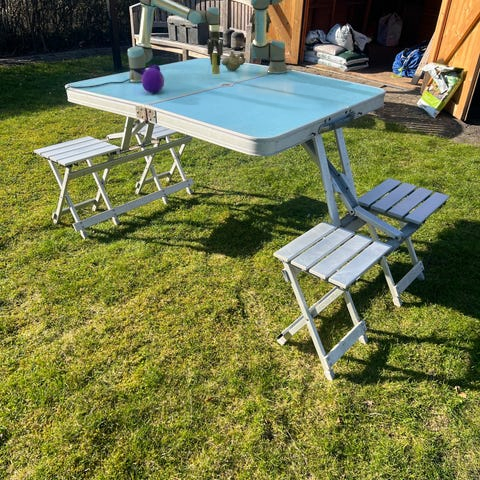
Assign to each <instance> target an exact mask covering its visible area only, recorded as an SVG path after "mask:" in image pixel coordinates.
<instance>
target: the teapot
mask: <svg viewBox="0 0 480 480" xmlns="http://www.w3.org/2000/svg"><path fill="white" fill-rule="evenodd" d="M240 58H241V60H240ZM245 62H246V59H245V54H244V53H243V52H239V54H237V55H236V54H235V53H234V51H233V50H232V51H230V53H229V55H228V57H224V58H222V59H221V65H222V66H225V68H226V70H227V71H229V72H235V71H237V70H239V68H240V67H241V66H243V65H244V64H245Z"/></svg>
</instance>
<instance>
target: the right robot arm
mask: <svg viewBox="0 0 480 480" xmlns="http://www.w3.org/2000/svg"><path fill="white" fill-rule="evenodd" d="M283 1H284V0H250V6H251V7H252V9H253V10H252V14H251V16H250V19H249V23H251V28H252V33H254V39H253V40H252V42H251V43H250V48H251V49H250V50H251V57H252V58H253V59H254V60H266V59H267V60H270V61H269V65H268V68H267V73H268V74H271V75H283V74H287V73H288V71H292V69H291V68H287V65H286V49H287V48H286V43H285V42H284V41H283V40H282V41H281V40H276V39H275V40H274V39H273V40H270V41H269V40H268V39H267V33H269V29H270V24H272V19H271V17H270V14H269V10H268V9H269V7H270V6H274V5H279V4H280V3H282V2H283Z"/></svg>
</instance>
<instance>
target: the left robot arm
mask: <svg viewBox="0 0 480 480" xmlns="http://www.w3.org/2000/svg"><path fill="white" fill-rule="evenodd" d="M139 1H140V2H139V4H140V6H141V13H140V14H141V15H140V21H139V23H140V24H139V34H138V41H136V42H135V46H132V47H129V48H128V49H127V57H128V66H129V76H128V79H125V80H123V81H109V82H104V83H100V84H95V85H87V86H86V85H85V86H71V85H70V86H67V87H66V88H65V91H67V90H68V89H70V87H71V88H72V89H84V88H86V89H87V88H95V87H100V86H104V85H105V86H106V85H108V84H109V85H110V84H123V83H126V82H129V83H133V84H142V76H143V75H141V74H139V73H137V72H135V71H134V70H147V67H146V64H147V63H149V62H150V61H151V60H152V59H153V49H152V48H153V47H152V44H151V39H152V30H153V22H154V13H155V9H156V8H159V9H161V10H163V11H165V12H168V13H170V14H172V15H175V16H176V17H179V18H181V19H184V20H185V21H188V22H190V24H192V25H199V24H200V23H208V31H209V32H208V34H209V35H208V36H209V39H207V40H206V43H207V45H206V46H207V55H209V60H210V66H212V53H214V50H215V49H216V53H217V54H218V56H217V66H218V65H219V66H221V62H222V56H223V55H224V47H223V43H224V41H223V40H221V39H220V36H221V35H220V34H221V33H220V12H219V10H220V9H219V7H218V6H217V7H216V6H211V7H210V6H209V7H208V8H207V10H197V9H196V10H194V9H191V8H189V7H187V6H185V5H182V4H181V3H178V2H176V1H174V0H139Z"/></svg>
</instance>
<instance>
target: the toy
mask: <svg viewBox="0 0 480 480" xmlns="http://www.w3.org/2000/svg"><path fill="white" fill-rule="evenodd" d="M134 71H135V72H137V73H139V74H141V75H143V76H142V83H141V85H142V87H143V89H144V90H145V91H146V92H147V93H151V94H157V93H159V92H160V91H161V90H162V89H163V87H164V86H165V78H164V75H163V72H161V67H160V66H159V65H158V64H153V65H151V66H149V67H148V68H146V70H134Z"/></svg>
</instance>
